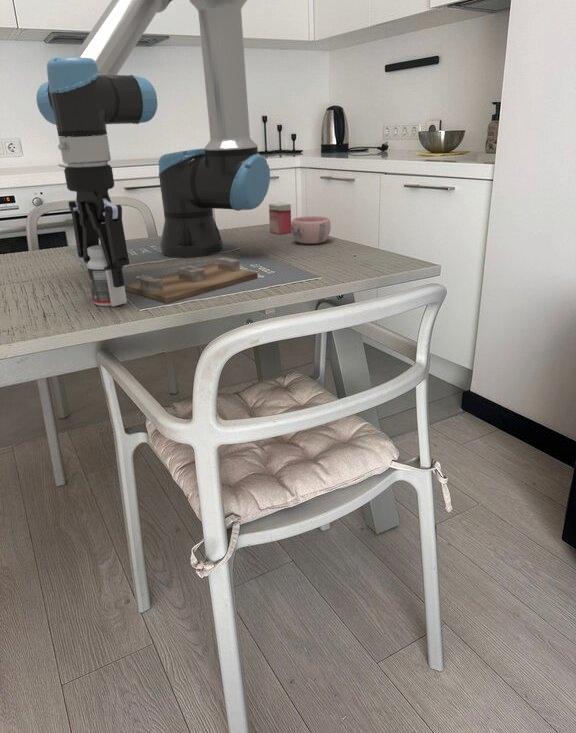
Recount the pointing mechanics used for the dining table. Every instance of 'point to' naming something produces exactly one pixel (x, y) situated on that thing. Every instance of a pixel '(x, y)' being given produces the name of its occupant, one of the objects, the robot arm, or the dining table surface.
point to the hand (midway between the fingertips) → (109, 300)
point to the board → (191, 281)
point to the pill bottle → (98, 276)
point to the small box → (280, 218)
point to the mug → (310, 229)
